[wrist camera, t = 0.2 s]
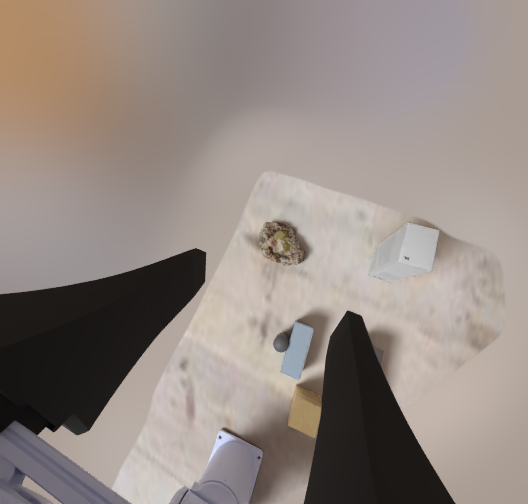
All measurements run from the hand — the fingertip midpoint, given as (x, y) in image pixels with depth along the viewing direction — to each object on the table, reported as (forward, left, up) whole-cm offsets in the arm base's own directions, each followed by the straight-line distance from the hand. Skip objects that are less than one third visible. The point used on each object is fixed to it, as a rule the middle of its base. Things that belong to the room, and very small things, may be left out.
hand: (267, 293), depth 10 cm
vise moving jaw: (-6, -2, -31) cm, 31 cm away
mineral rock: (+10, +5, -31) cm, 33 cm away
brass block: (-14, -7, -31) cm, 35 cm away
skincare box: (+13, -14, -31) cm, 36 cm away
